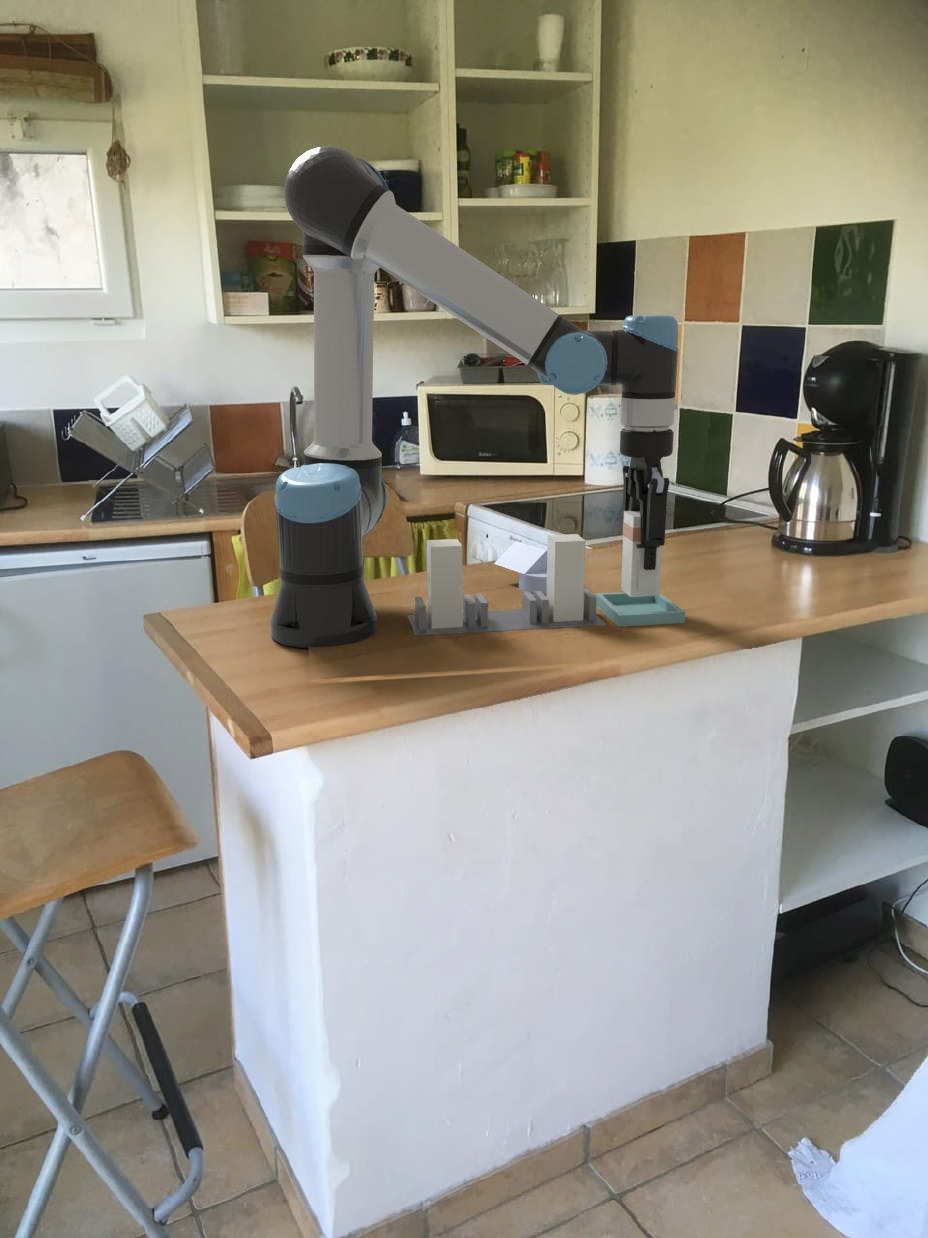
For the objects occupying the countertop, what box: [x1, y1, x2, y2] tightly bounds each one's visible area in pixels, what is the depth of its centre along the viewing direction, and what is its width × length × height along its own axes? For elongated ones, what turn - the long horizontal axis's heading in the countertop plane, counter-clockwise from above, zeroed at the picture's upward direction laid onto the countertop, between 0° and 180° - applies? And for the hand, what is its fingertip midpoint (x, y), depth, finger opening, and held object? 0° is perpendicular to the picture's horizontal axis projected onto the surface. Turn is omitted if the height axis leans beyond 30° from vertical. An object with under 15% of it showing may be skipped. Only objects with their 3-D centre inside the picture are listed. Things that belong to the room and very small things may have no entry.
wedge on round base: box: [493, 540, 547, 595], centre depth 169 cm, size 9×7×13 cm
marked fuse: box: [620, 511, 663, 597], centre depth 151 cm, size 5×5×12 cm
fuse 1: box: [426, 538, 464, 629], centre depth 147 cm, size 4×4×12 cm
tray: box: [594, 591, 686, 628], centre depth 153 cm, size 10×12×2 cm
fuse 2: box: [545, 533, 587, 622], centre depth 150 cm, size 4×4×12 cm
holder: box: [407, 587, 607, 637], centre depth 150 cm, size 28×10×4 cm, turn 99°
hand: (640, 585), depth 152 cm, fingers closed on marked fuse, 4 cm apart
